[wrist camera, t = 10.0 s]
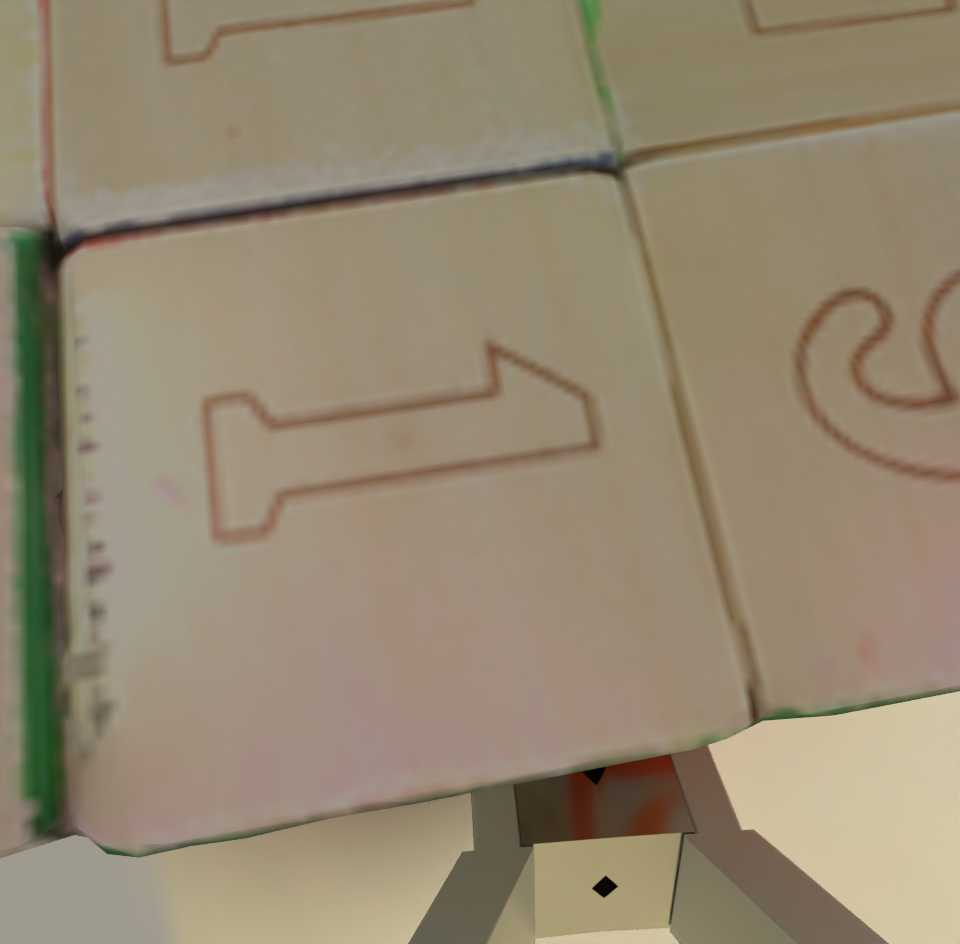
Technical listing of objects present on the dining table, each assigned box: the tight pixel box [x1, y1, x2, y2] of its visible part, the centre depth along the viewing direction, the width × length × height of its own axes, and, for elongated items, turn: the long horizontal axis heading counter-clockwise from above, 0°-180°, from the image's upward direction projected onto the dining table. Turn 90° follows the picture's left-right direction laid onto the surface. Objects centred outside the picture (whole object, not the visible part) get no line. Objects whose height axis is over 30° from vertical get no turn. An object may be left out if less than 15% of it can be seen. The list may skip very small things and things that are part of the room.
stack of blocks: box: [0, 0, 960, 858], centre depth 10 cm, size 21×6×12 cm, turn 99°
